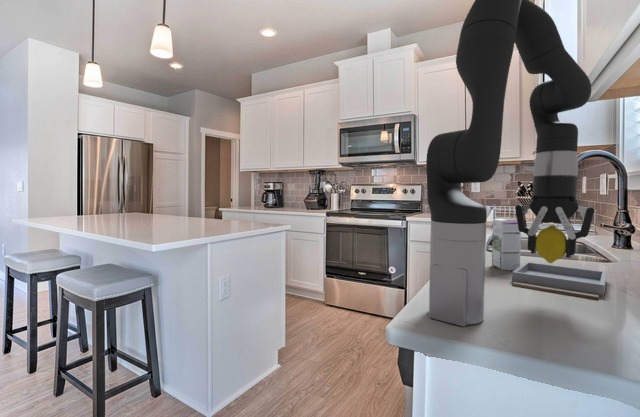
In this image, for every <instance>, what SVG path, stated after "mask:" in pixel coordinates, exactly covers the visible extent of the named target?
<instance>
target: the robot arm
mask: <svg viewBox="0 0 640 417" xmlns="http://www.w3.org/2000/svg"><path fill="white" fill-rule="evenodd" d="M515 46H516V49H517V51H518V54H519V56H520V58H521V62H522V63H523V65H524V68H525V71H526V72H527V73H528V74H529V75H530V74H531V75H542V74H543V75H547V76H548V77H549V78H550V79H549V80H547V81H544V82H541V83H539V84H537V85H536V86H535V87H534V89H533V90H532V92H531V94H530V97H529V109H530V112H531V116H532V120H533V125H534V128H535V132H536V147H535V148H536V150H535V158H534V164H533V177H532V178H533V180H532V181H533V182H532V184H533V185H532V198H531V199H532V200H531V201H530V202H529V204H518V205H516V206H515V208H514V209H515V210H514V211H515V215H516V220H517V223H518V229H519V231H520V232H521V233H522V234H523V233H524V234H525V235H527V250H528V251H530V254H533V255H535V254H536V253H537V251H536V245H535V244H536V238H537V233H539V230H540V228H541V227H542V225H543V224H544V223H545V224H549V223H553V224H555V225H556V224H558V225H562V228H563V229H564V231H565V232H566V235H567V238H566V239H567V245H566V253H565V258H568V259H571V258H572V256H574V255H575V254H576V253H577V252H576V251H577V250H576V249H577V240H578V239H581V238H586V237H587V236H589V233H590V229H591V226H592V223H593V221H594V216H595V212H596V209H595V207H589V206H588V207H586V206H582V205H579V203H578V202H577V188H578V175H579V160H578V145H579V144H578V143H579V142H578V141H579V140H578V138H579V128H578V126H577V125H576V124H574V123H572V122H566V121H565V122H564V121H563V122H561V121H560V119H559V115H558V114H560V113H565V112H568V111H573V110H576V109H579V108H581V107H583V106H585V105H586V104H587V103H588V101H589V100H590V98H591V96H592V83H591V80H590V78H589V76H588V75H587V74H586V72H585V71H584V70H583V69H582V68H581V66H580V65H579V64H578V63H577V62H576V61H575V59H574V58H573V57H572V55H571V54H570V53H569V52H568V51H567V49H565V46H564V43H563V40H562V37H561V35H560V33H559V30H558V28H557V25H556V23H555V21H554V18H553V17H552V16H551V15H550V14H549V13H548V12H547V11H546V10H545V9H543V8H542V7H541V6H539V5H537V4H536V3H535V2H532V1H531V0H474V2H473V3H472V5H471V7H470V9H469V11H468V13H467V14H466V17H465V19H464V21H463V23H462V27H461V30H460V34H459V39H458V46H457V49H456V50H457V51H456V54H455V55H456V56H455V65H456V69H457V73H458V74H459V77H460V79H461V81H462V83H464V86H465V88H466V89H467V91H468V93H469V95H470V98H471V101H472V110H471V111H472V112H471V113H472V114H471V120H470V124H469V127H468V129H467V128H466V129H461V130H456V131H448V132H443V133H438V134H437V135H436V136H434V137H433V138H432V139H431V141H430V142H429V145H428V148H427V152H426V161H425V162H426V164H425V165H426V191H427V192H426V193H427V194H426V195H427V204H428V207H429V211H430V241H429V242H430V244H429V246H430V247H429V285H428V286H429V288H428V290H429V293H428V294H429V296H428V297H429V298H428V300H429V301H428V302H429V303H428V306H429V307H428V317H429V318H430V319H433V320H436V321H441V322H444V323H445V322H446V323H448V324H453V325H457V326H460V327H466V326H468V325H476V324H479V323H481V322H483V321H484V317H485V315H484V312H485V311H484V310H485V282H486V281H485V280H486V278H485V275H486V273H485V272H486V244H487V242H486V241H487V217H488V216H487V208H486V207H485V206H484V205H483V204H482V203H478V202H477V201H475V200H472V199H470V198H469V197H467V195H465V194H464V192H463V190H462V184H475V183H478V184H479V183H486V182H488V181H490V180H491V179H492V178H493V177H494V175H496V174H495V173H496V171H497V169H498V165H499V163H500V157H501V150H502V149H501V148H502V137H503V123H504V122H503V121H504V109H505V100H506V99H505V98H506V92H507V86H508V78H509V73H510V68H511V63H512V58H513V53H514V48H515ZM529 210H530V211H531V212H532V213H533V214H534V216H535V218H534V219H533V222H532V224H531V226H530V227H528V226H527V225H528V224H527V219H526V218H527V217H526V215H527V214H528V213H529ZM577 212H579V214H580V217H581V218H583V221H582V224H581V229H580V231H576V230H575V227H574V225H573V222H572V220H571V218H572V217H573V216H574V215H575V214H576V213H577Z"/></svg>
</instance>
